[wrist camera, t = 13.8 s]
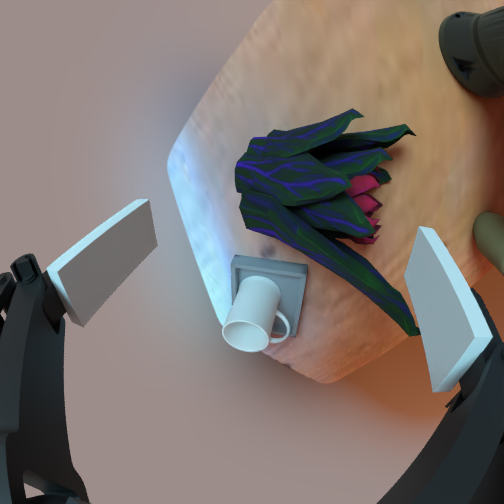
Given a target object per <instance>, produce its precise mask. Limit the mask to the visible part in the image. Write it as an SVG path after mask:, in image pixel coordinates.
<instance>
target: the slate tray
mask: <svg viewBox="0 0 504 504" xmlns="http://www.w3.org/2000/svg"><path fill="white" fill-rule="evenodd" d="M307 268H308V265H305V264H298V263H291V262H284V261H276V260H269V259H262V258H255V257H248V256H241V255H235V256H234V258H233V260H232V262H231V288H232V305H233V303H234V300H235V298H236V296H237V293H238V289H239V285H240V283H241V282H242V281H243V280H244V279H246V278H247V277H250V276H263V277H266V278H268V279H270V280H272V281H273V282H275V283H276V285H277V286H278V287H279V289H280V292H281V299H280V301H279V303H278V306H277V310H278V311H280V312H281V313H282V314H283V315H284V316H285V317H286V319H287V320H288V322H289V325H290V333H289V335H288V336H291V337H295V336H296V331H297V326H298V321H299V316H300V310H301V305H302V300H303V294H304V288H305V283H306V277H307ZM271 333H272V334H278V335H284V336H285V335H286V333H287V327H286V325H285V323H284V321H283V320H282V319H281V318H280V317H278V316H277V315H275V319H274V323H273V327H272V331H271Z"/></svg>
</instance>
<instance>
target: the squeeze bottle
mask: <svg viewBox="0 0 504 504" xmlns="http://www.w3.org/2000/svg"><path fill="white" fill-rule="evenodd" d="M473 233H474V237H475V240H476V244H477V247H478V250H479V251H480V252H481V253H482V254H483V255H484V256H485V257H486V258H487V259H488V260H489V261H490V262H491V263H492V264H493V265H494V266H495V267H496V268H497V269H498V270H499V271H500V272H501V273H502V274H503V276H504V217H503V216H501V215H499V214H496V213H491V212H483V213H482V214H480V215H479V216H478V217H477V219H476V220H475V222H474V225H473Z"/></svg>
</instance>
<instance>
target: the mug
mask: <svg viewBox="0 0 504 504" xmlns="http://www.w3.org/2000/svg"><path fill="white" fill-rule="evenodd" d="M280 299H281V292H280V289H279V287H278V286H277V285H276V283H275V282H273V281H272V280H270V279H268V278H266V277H263V276H250V277H247V278H246V279H244V280H243V281H242V282H241V283H240V285H239V289H238V293H237V296H236V298H235V300H234V303H233V305H232V307H231V310H230V312H229V315H228V317H227V319H226V322H225V324H224V326H223V330H222V334H223V337H224V339H225V340H226V341H227V343H229V344H230V345H231V346H233V347H234V348H236V349H239V350H241V351H246V352H257V351H261V350H263V349H265V348H266V347H267V345H268V343H280V342H282V341H284V340H285V339H286V338H287V337H288V335H289V333H290V325H289V322H288V320H287V319H286V317H285V316H284V315H283V314H282V313H281V312H280V311H278V310H277V306H278V303H279V301H280ZM275 315H277V316H278V317H280V318H281V319H282V320H283V321H284V323H285V325H286V327H287V333H286V335H285V336H284V337H282V338H273V337H270V335H271V331H272V327H273V323H274V319H275Z"/></svg>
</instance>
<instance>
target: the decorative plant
mask: <svg viewBox="0 0 504 504" xmlns="http://www.w3.org/2000/svg"><path fill="white" fill-rule="evenodd" d="M361 117H364V116H363V115H362V114H360V113H359V112H358V111H356V110H354V109H353V108H352V109H350V110H348V111H346V112H344V113H342V114H340V115H337V116H335V117H332V118H330V119H328V120H325V121H323V122H320V123H316V124H312V125H308V126H304V127H300V128H296V129H293V130H289V131H280V130H273V131H272V132H270V133H269V134H268V135H267V137H254V138H253V139H252V140H251V141H250V143H249V146H248V149H247V152H245V153H244V155H243V156H242V157H241V158H240V159H239V160H238V162H237V164H236V167H235V186H236V190H237V192H238V193H242V199H241V202H240V206H239V208H240V211H241V214H242V217H243V220H244V223H245V226H246V229H249V230H252V231H255V232H258V233H261V234H264V235H267V236H270V237H273V238H276V239H278V240H280V241H282V242H283V243H285V244H287V245H289V246H291V247H293V248H295V249H296V250H298V251H300V252H302V253H304V254H305V255H307V256H308V257H310V258H311V259H313V260H315V261H316V262H318V263H319V264H321V265H323V266H324V267H326V268H327V269H329V270H330V271H332V272H334V273H335V274H337V275H338V276H340V277H342V278H343V279H345V280H346V281H348V282H349V283H350V284H352V285H353V286H354V287H356V288H357V289H358V290H359V291H361V292H362V293H363V294H365V295H366V296H367V297H369V298H370V299H371V300H372V301H373V302H374V303H375V304H376V305H378V306H379V307H380V308H381V309H382V310H383V311H384V312H385V313H387V314H388V315H389V316H390V317H391V318H392V319H393V320H394V321H395V322H396V323H398V325H399V326H400V327H401V328H402V329H403V330H404V331H405V332H406V333H407V334H408V335H409V337H410V336H415V335H421V332H420V329H419V328H418V327H416V326H415V321H414V318H413V316H412V314H411V312H410V310H409V307H408V305H407V304H406V302H405V300H404V298H403V297H402V295H401V293H400V292H399V291H397V290H396V289H395V288H393V287H392V286H391V285H390V284H389V283H388V282H387V281H386V280H385V279H384V278H383V276H382V275H381V274H380V273H379V272H378V271H377V270H376V269H375V268H374V267H373V266H372V264H371V263H370V262H369V261H368V260H367V259H365V258H364V257H363V256H361V255H360V254H358V253H357V252H355V251H354V250H353V249H351V248H350V247H348V246H347V245H345V244H344V243H342V242H341V241H339V240H337V239H335V238H343V239H351V240H352V241H354V242H355V243H358V244H364V245H367V244H373V243H374V242H375V241H376V239H377V238H378V237H379V236H380V235H379V236H377V237H375V238H374V237H373V236H374V234H376V232H377V231H378V230H379V229H380V227H381V226H380V225H376V224H377V222H378V221H379V220H380V219H371V218H370V216H371V215H372V214H373V213H374V211H376V210H378V209H379V208H380V207H382V206H383V205H382V204H381V203H380V202H379V201H378V200H377V199H375V198H374V197H373V196H371V195H369V194H366V193H363V192H364V191H367V190H369V189H371V188H373V187H381V186H380V184H381V183H384V182H387V181H389V180H392V179H391V177H390V175H389V174H388V172H387V171H386V170H385V169H382V168H380V167H377V165H378V164H379V163H380V162H382V161H384V160H393V159H392V158H391V157H390V156H389V155H388V153H387V152H386V151H385V150H384V149H383V148H388V147H389V146H391V145H393V144H394V143H396V142H397V141H399V140H400V139H401V138H402V137H403V136H404V135H407V134H410V135H414V136H416V135H415V134H414V133H413V132H412V131H411V129H410V128H409V127H408V126H407V125H406V124H403V125H398V126H394V127H389V128H384V129H378V130H372V131H366V132H356V133H346V134H342V133H343V132H344V131H345V130H346V128H347V127H348V125H349V124H350V122H351V121H352V120H353V119H355V118H361Z"/></svg>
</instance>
